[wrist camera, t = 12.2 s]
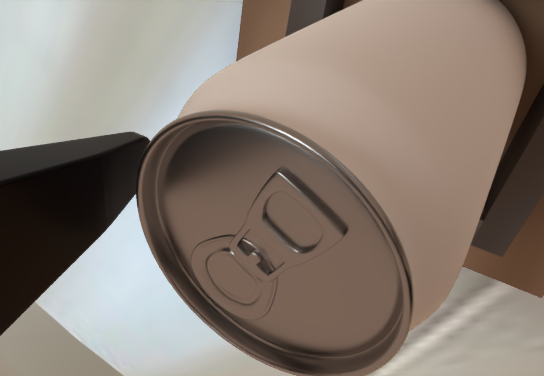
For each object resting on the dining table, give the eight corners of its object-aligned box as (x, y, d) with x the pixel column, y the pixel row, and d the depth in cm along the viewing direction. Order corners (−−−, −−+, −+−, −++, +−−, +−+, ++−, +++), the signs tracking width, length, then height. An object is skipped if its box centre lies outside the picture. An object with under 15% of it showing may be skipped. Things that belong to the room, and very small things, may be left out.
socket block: (870, -152, 11) (988, -169, 8) (540, 283, 20) (545, 340, 18) (283, -235, 15) (234, -265, 12) (232, 161, 24) (198, 193, 22)
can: (317, 73, 19) (90, 223, 10) (426, -71, 14) (185, -17, 6) (430, 179, 19) (292, 425, 10) (577, 64, 14) (556, 334, 6)
